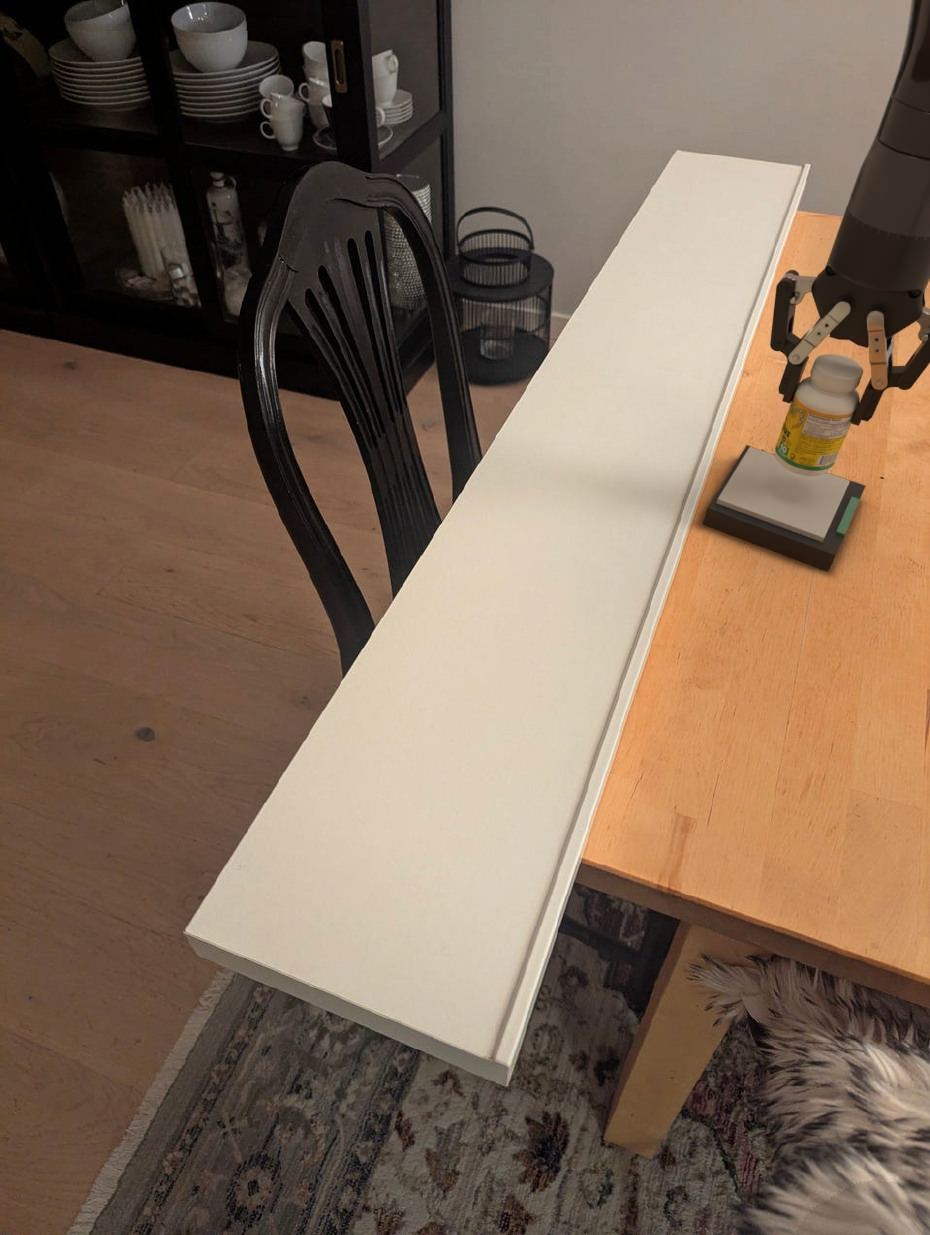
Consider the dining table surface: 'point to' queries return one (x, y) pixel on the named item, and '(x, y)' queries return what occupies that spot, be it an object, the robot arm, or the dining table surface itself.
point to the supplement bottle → (819, 416)
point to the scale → (784, 508)
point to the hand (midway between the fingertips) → (822, 408)
